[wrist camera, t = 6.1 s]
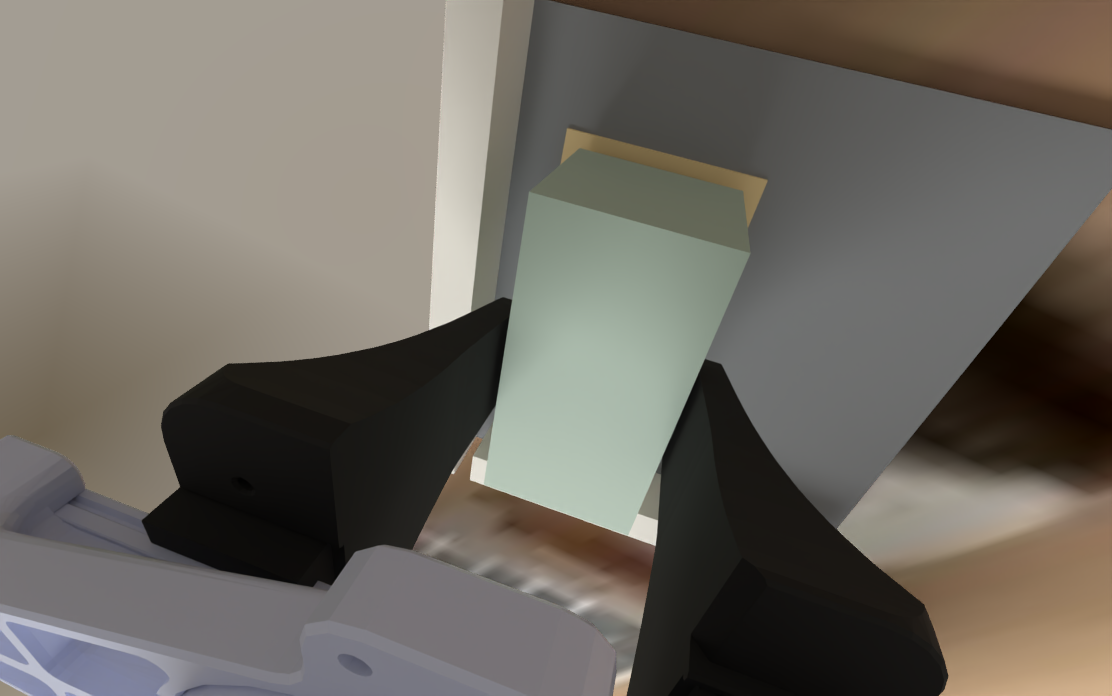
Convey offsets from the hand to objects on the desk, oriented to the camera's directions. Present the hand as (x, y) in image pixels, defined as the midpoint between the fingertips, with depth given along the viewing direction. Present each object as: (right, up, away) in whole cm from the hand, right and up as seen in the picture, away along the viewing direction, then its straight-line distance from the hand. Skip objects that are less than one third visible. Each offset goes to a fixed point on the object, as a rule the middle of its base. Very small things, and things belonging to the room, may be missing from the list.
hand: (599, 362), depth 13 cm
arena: (+3, +1, +2) cm, 4 cm away
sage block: (+1, +1, +2) cm, 2 cm away
